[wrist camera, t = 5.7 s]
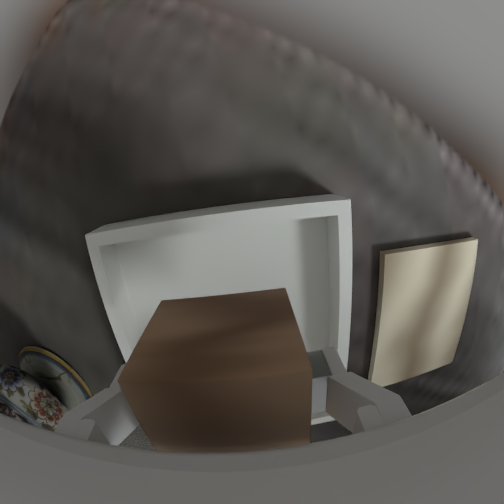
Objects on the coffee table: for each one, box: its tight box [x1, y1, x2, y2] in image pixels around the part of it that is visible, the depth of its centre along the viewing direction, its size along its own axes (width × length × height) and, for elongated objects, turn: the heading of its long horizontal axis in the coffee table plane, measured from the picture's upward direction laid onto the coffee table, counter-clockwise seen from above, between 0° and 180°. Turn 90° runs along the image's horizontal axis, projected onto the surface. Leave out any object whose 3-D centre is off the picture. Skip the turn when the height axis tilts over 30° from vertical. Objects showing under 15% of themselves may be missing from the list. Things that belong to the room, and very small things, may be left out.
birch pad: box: [368, 237, 478, 387], centre depth 20 cm, size 10×13×1 cm
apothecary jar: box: [0, 346, 92, 432], centre depth 13 cm, size 12×12×18 cm
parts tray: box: [85, 194, 352, 425], centre depth 19 cm, size 15×18×3 cm
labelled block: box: [117, 288, 312, 452], centre depth 9 cm, size 5×5×5 cm
